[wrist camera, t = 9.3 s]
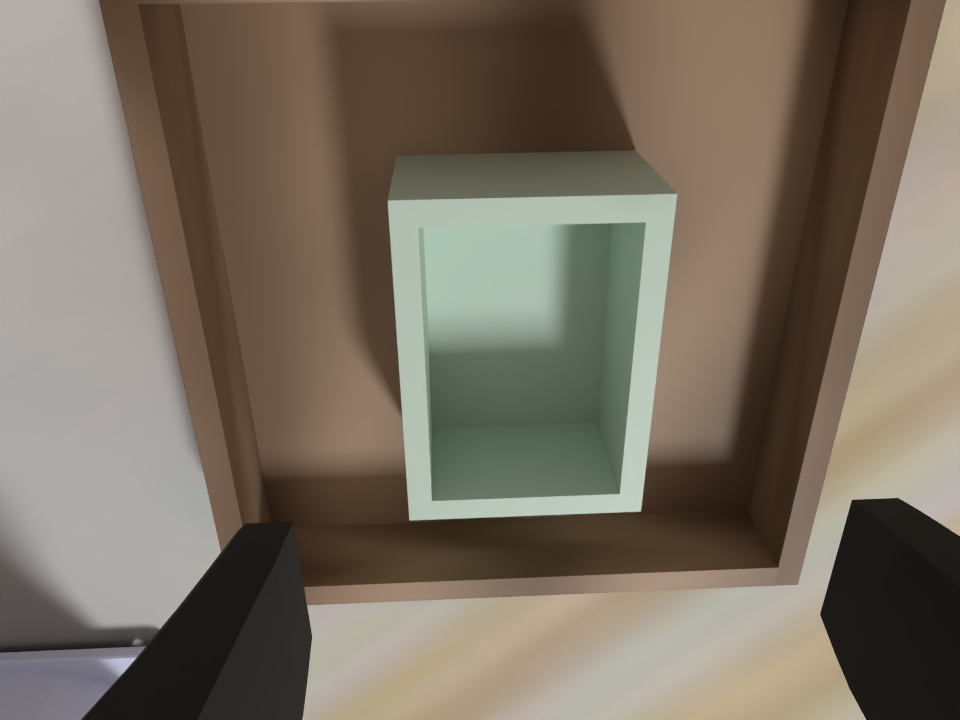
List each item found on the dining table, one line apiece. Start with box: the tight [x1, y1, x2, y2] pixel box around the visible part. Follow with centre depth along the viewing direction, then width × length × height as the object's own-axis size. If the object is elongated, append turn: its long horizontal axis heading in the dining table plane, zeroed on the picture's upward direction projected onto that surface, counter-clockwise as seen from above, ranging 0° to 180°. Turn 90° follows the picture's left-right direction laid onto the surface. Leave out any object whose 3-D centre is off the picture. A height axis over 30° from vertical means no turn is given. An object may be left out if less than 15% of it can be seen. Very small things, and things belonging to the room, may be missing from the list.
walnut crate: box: [99, 0, 946, 605], centre depth 17 cm, size 14×14×3 cm
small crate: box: [388, 150, 677, 521], centre depth 16 cm, size 5×7×3 cm
